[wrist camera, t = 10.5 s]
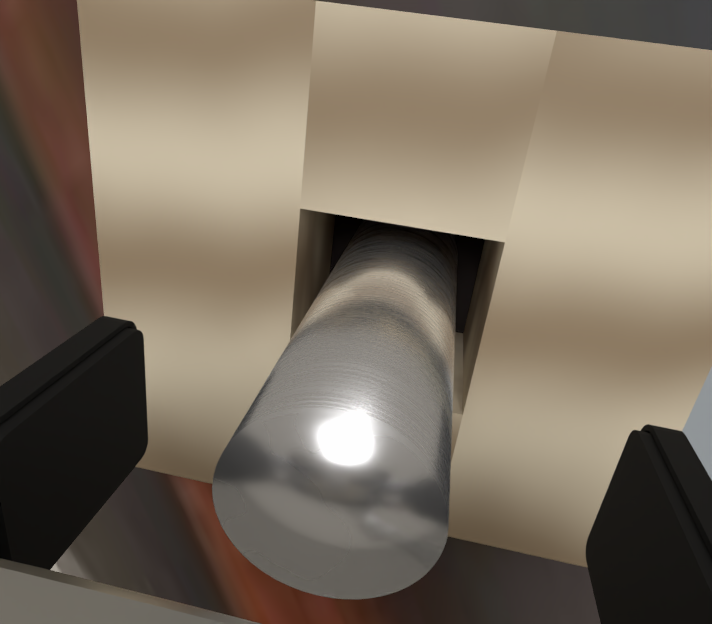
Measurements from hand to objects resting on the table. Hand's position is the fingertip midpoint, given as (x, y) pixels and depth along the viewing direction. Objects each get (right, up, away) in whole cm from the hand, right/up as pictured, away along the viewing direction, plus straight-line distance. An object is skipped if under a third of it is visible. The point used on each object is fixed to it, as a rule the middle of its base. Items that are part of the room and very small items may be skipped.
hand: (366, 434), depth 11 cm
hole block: (+1, +4, +8) cm, 10 cm away
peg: (+1, +4, +8) cm, 10 cm away
